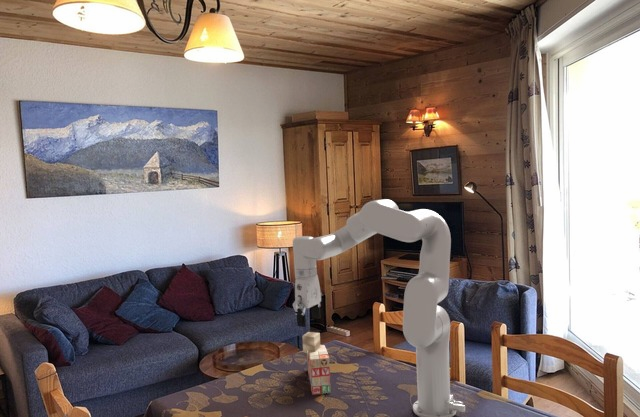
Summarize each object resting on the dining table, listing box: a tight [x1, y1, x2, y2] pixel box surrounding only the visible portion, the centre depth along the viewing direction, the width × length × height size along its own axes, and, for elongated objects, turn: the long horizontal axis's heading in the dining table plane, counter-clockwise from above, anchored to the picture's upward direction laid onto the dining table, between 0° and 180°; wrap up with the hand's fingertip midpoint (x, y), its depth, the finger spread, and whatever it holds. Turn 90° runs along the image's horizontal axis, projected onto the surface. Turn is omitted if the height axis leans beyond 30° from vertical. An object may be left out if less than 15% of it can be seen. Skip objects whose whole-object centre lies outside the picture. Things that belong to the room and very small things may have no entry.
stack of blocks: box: [305, 344, 332, 396], centre depth 175 cm, size 21×6×12 cm, turn 6°
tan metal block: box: [301, 331, 321, 352], centre depth 173 cm, size 4×4×5 cm
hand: (309, 322), depth 172 cm, fingers open, 9 cm apart
